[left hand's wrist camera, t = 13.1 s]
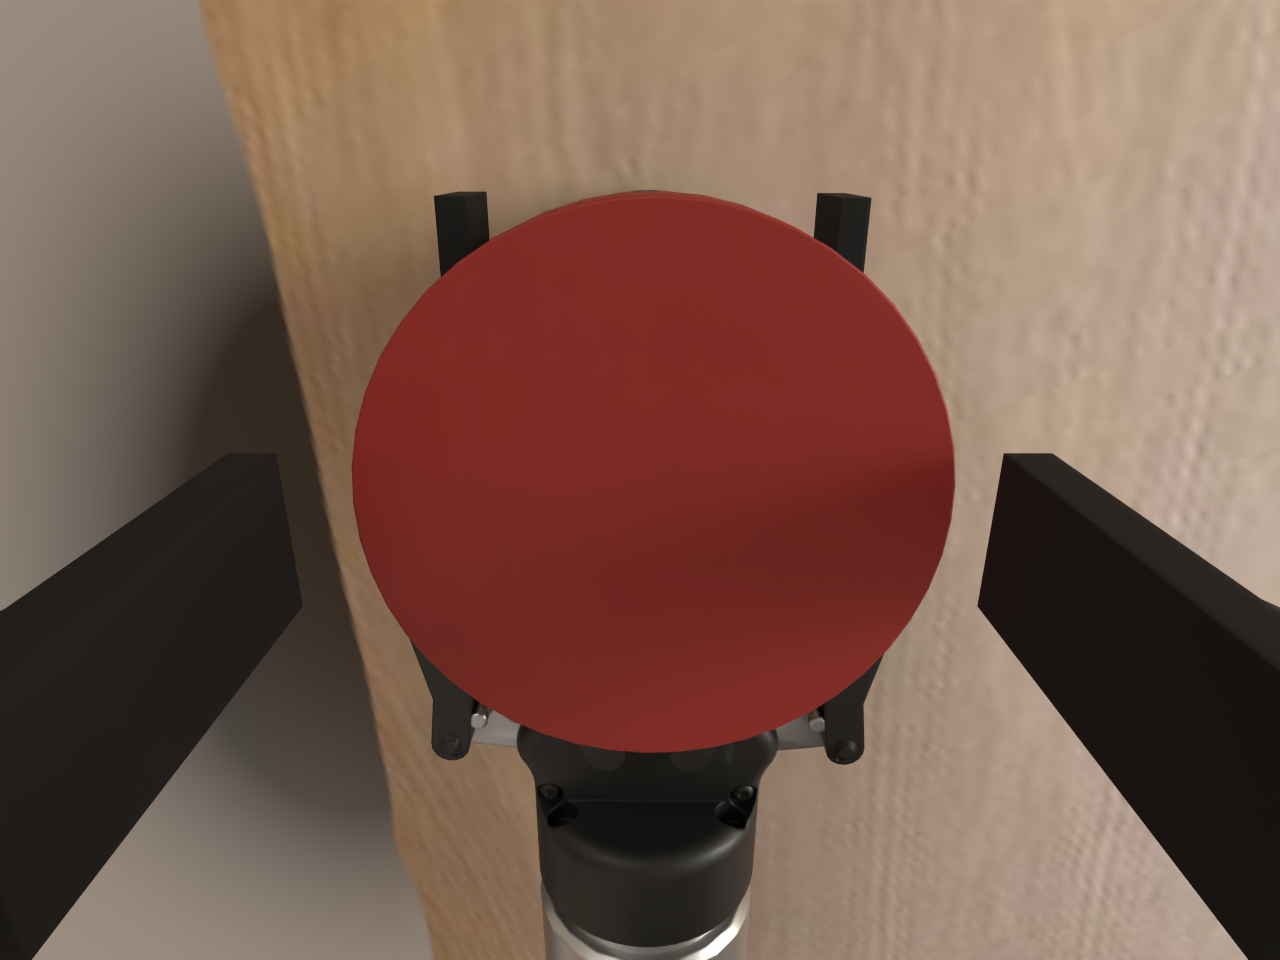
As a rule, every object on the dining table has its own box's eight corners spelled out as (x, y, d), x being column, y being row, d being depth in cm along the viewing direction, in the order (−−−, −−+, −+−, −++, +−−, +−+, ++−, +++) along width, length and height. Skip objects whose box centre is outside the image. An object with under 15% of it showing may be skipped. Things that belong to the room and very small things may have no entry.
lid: (667, 47, 12) (670, 31, 11) (1030, 486, 15) (1075, 524, 13) (272, 464, 15) (228, 500, 13) (640, 776, 17) (640, 837, 16)
